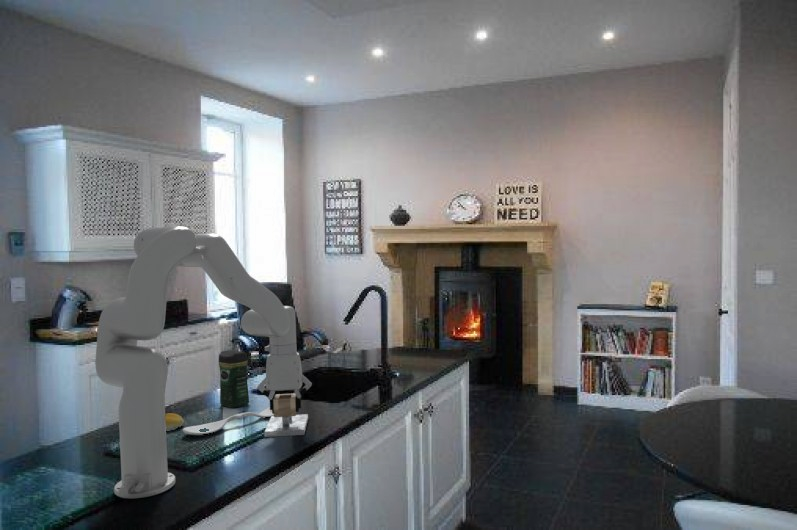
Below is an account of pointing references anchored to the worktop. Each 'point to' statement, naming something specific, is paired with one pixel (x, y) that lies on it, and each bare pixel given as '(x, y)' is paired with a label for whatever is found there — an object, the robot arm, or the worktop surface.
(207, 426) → the spoon
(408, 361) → the worktop surface
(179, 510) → the worktop surface
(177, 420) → the bread roll
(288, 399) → the hollow wooden block
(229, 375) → the coffee jar
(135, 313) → the robot arm
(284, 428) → the housing plate
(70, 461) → the worktop surface
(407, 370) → the worktop surface
